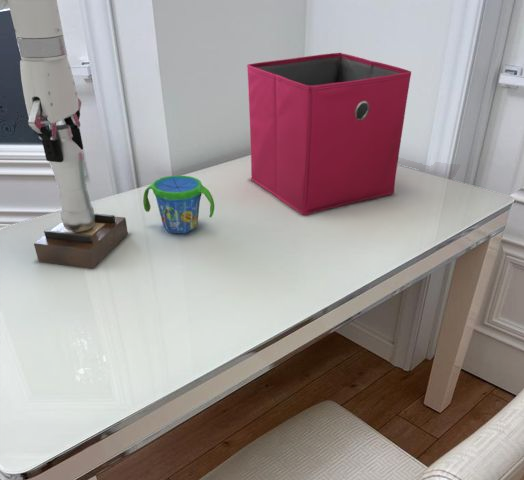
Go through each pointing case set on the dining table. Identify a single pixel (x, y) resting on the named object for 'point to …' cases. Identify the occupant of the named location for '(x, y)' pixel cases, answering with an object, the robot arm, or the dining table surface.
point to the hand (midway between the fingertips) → (65, 154)
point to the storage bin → (326, 129)
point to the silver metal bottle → (72, 184)
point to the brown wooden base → (82, 242)
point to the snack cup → (178, 202)
